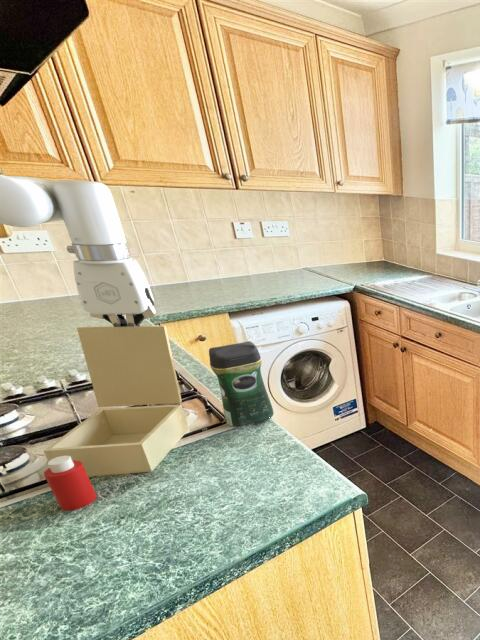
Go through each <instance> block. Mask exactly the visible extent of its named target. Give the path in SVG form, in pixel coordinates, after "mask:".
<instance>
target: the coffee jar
mask: <svg viewBox="0 0 480 640" xmlns="http://www.w3.org/2000/svg"><path fill="white" fill-rule="evenodd" d="M208 356H209V366H210V369H211V371H212V372H213V373H214V374H215V376H216V377H217V382H218V385H219V389H220V394H221V395H220V396H221V402H222V410H223V415H224V419H225V422H226V424H227V425H229V426H230V427H234V428H235V427H236V428H238V427H244V426H248V425H252V424H254V425H256V424H259V423H263V422H266V421H268V420H270V419H271V418H272V417H273V416H274V414H275V412H274V408H273V405H272V403H271V400H270V397H269V394H268V392H267V388H266V386H265V385H266V384H265V383H264V380H263V376H262V371H261V367H262V357H261V354H260V352H259V349H258V347H257V345H256V344H255V343H253V342H252V341H251V340H248V341H244V342H237V343H231V344H226V345H222V346H221V345H219V346H215V347H210V348H209V349H208ZM269 417H270V418H269Z"/></svg>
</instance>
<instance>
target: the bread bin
mask: <svg viewBox="0 0 480 640" xmlns="http://www.w3.org/2000/svg"><path fill="white" fill-rule="evenodd" d="M189 430H190V426H189V423H188V420H187V417H186V413H185V411H184V406H183V404H164V405H143V406H123V407H101V408H99V409H98V410H97V411H95V412H94V413H93V414H91V415H90V416H88V417H87V418H85V420H83V421H82V422H80V423H79V424H78V425H76V426H75V427H73V428H72V429H71V430H69V431H68V432H67V433H66V434H64V435H62V437H60V438H59V439H57V440H55V441H54V442H53V443H52V444H51V445H49V446H48V447H47V448H45V449H43V453H44V456H45V458H46V459H47V462H49V461H50V460H52V459H54V458H56V457H60V456H70V457H71V459H72V461H73V460H76V461H80V462H82V464H83V466H84V469H85V471H86V473H87V475H88V477H89V478H90V477H100V476H101V477H102V476H111V475H125V474H139V473H150V472H151V473H152V472H153V471H154V470H155V469H156V468H157V467H158V465H159V464H160V463H161V462H162V461H163V460H164V459H165V457H166V456H168V454H169V453H170V452H171V450H173V448H174V447H175V446H176V445H177V444H178V442H179V441H180V440H181V439H182V438H183V437H184V435H186V434H187V432H188V431H189Z"/></svg>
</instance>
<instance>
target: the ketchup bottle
mask: <svg viewBox="0 0 480 640" xmlns="http://www.w3.org/2000/svg"><path fill="white" fill-rule="evenodd" d="M47 465H48V468H47V469H46V470H45V471H43V477H44V479H45V480H46V482H47V484H48V486H49V488H50V490H51V492H52V494H53V496H54V497H55V500H56V502H57V504H58V506H59V508H60V509H61V510H62V511H64V512H65V511H66V512H67V511H76V510H78V509H82V508H84V507H87V506H89V505H90V504H92V503H93V502H94V501H95V500H96V499H97V498H98V495H97V493H96V490H95V487H94V486H93V484H92V482H91V480H90V476H89V477H88V475H87V473H86V471H85V469H84V466H83V464H82V462H80V461H76V460H73V461H72V459H71V457H70V456H60V457H56V458H54V459H52V460H50V461H47Z"/></svg>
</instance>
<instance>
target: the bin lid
mask: <svg viewBox="0 0 480 640" xmlns="http://www.w3.org/2000/svg"><path fill="white" fill-rule="evenodd" d="M76 330H77V333H78V339H79V341H80V345H81V349H82V353H83V355H84V359H85V364H86V367H87V371H88V374H89V378H90V381H91V385H92V389H93V392H94V396H95V400H96V404H97V407H98V408H111V407H132V406H153V405H174V404H181V403H183V400H182V395H181V391H180V385H179V381H178V376H177V372H176V367H175V362H174V358H173V352H172V347H171V343H170V338H169V335H168V330H167V326H166V325H150V326H149V325H145V326H143V325H142V326H141V325H140V326H129V327H114V326H78V327H76Z"/></svg>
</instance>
